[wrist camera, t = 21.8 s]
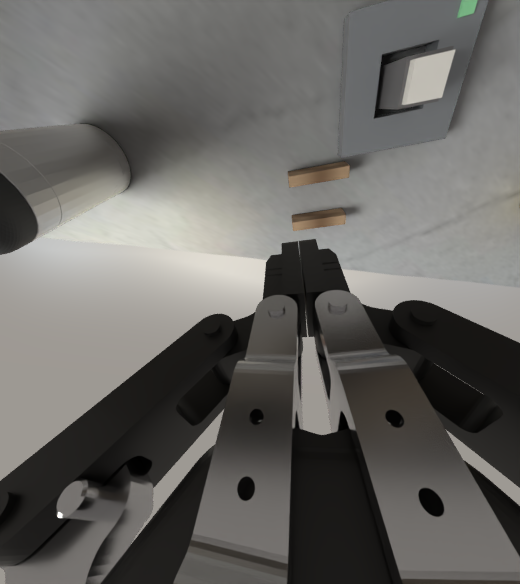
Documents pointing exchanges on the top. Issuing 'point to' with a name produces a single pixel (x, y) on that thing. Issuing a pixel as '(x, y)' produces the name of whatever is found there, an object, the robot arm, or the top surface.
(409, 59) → the plug
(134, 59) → the top surface
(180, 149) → the top surface
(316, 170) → the pair of wooden planks
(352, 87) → the port
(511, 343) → the robot arm
